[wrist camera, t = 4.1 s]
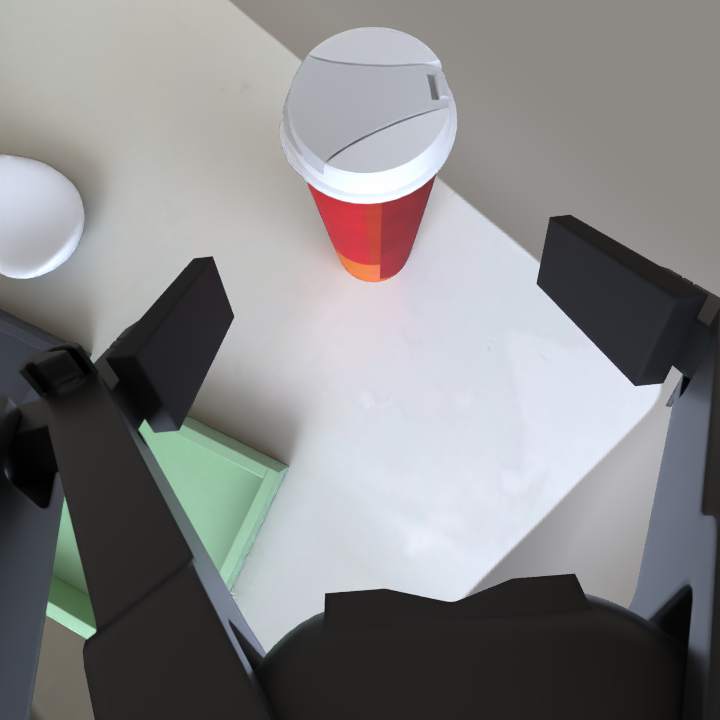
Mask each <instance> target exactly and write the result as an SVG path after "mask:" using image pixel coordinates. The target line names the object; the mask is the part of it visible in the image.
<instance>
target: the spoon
mask: <svg viewBox="0 0 720 720" xmlns="http://www.w3.org/2000/svg"><path fill="white" fill-rule="evenodd" d="M84 222H85V216H84V207H83V203H82V200H81V197H80V194H79V192H78V191H77V189H76V187H75V186H74V185H73V184H72V183H71V182H70V181H69V180H68V179H67V178H66V177H65V176H64V175H62V174H61V173H59V172H58V171H57V170H55V169H53V168H52V167H50V166H48V165H46V164H44V163H42V162H39V161H36V160H33V159H29V158H25V157H19V156H12V155H5V154H0V273H1V274H3V275H5V276H8V277H11V278H16V279H26V278H33V277H37V276H41V275H43V274H46V273H48V272H50V271H52V270H54V269H56V268H57V267H59V266H60V265H61V264H63V263H64V262H65V261H66V260H67V259H68V258H69V257H70V256H71V255H72V253H73V252H74V250H75V249H76V247H77V246H78V244H79V241H80V238H81V236H82V232H83V229H84Z"/></svg>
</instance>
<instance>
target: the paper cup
mask: <svg viewBox="0 0 720 720" xmlns="http://www.w3.org/2000/svg"><path fill="white" fill-rule="evenodd" d="M456 131H457V112H456V105H455V102H454V99H453V96H452V93H451V91H450V89H449V87H448V84H447V82H446V80H445V75H444V73H442V72H441V62H440V61H439V59H438V58H437V56H436V55H435V54H434V52H433V51H432V50H430V49H429V48H428V47H427V46H426V45H425V44H424V43H422V42H421V41H419V40H418V39H416V38H415V37H413V36H410V35H408V34H406V33H404V32H401V31H397V30H394V29H389V28H382V27H364V28H356V29H352V30H348V31H344V32H341V33H339V34H337V35H334V36H332V37H330V38H328V39H327V40H325V41H323V42H322V43H320V44H319V45H318V46H316V47H315V48H314V49H313V50H312V51H310V53H309V54H308V55H307V57H306V58H305V59H304V61H303V63H302V64H301V66H300V67H299V69H298V71H297V73H296V75H295V76H294V78H293V81H292V84H291V87H290V90H289V93H288V96H287V98H286V100H285V103H284V107H283V118H282V121H281V124H280V139H281V144H282V148H283V151H284V154H285V156H286V159H287V161H288V163H289V164H290V165H291V166H292V167H293V168H294V169H295V170H296V171H297V172H298V173H299V174H300V175H301V176H302V177H303V178H304V179H305V180H306V182H307V183H308V186H309V188H310V191H311V193H312V195H313V198H314V200H315V203H316V205H317V207H318V210H319V212H320V215H321V217H322V219H323V222H324V224H325V227H326V229H327V231H328V234H329V236H330V238H331V241H332V243H333V245H334V248H335V250H336V252H337V254H338V257H339V259H340V261H341V262H342V264H343V266H344V267H345V269H346V270H347V271H348V272H349V273H350V274H351V275H353V276H354V277H356V278H358V279H360V280H363V281H367V282H380V281H384V280H387V279H389V278H391V277H393V276H394V275H396V274H397V273H398V272H399V271H400V270H401V269H402V268H403V266H404V265H405V263H406V261H407V259H408V257H409V254H410V252H411V249H412V246H413V243H414V240H415V237H416V234H417V231H418V228H419V225H420V222H421V219H422V216H423V213H424V210H425V208H426V205H427V201H428V198H429V195H430V192H431V189H432V186H433V183H434V179H435V176H436V173H437V172H438V171H439V170H440V168H441V167H442V166H443V164H444V163H445V161H446V159H447V158H448V156H449V153H450V151H451V149H452V147H453V144H454V139H455V135H456Z"/></svg>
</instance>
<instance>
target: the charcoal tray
mask: <svg viewBox="0 0 720 720" xmlns="http://www.w3.org/2000/svg"><path fill="white" fill-rule="evenodd" d="M65 343H67V342H65V341H63V340H61V339H59V338H57V337H55V336H53V335H51V334H49V333H47V332H45V331H43V330H41V329H39V328H37V327H35V326H33V325H31V324H29V323H27V322H24V321H22V320H20V319H18V318H16V317H14V316H12V315H10V314H8V313H6V312H4V311H2V310H0V394H2V393H3V394H5V395H7V396H8V397H9V398H10V399H11V400H12V401H13V402H14V403H15V405H16V406H19V405H22V404H26V403H29V402H33V401H36V400H39V399H41V397H40V396H39V395H38V393H37V392H36V391H35V390H34V389H33V388H32V386H31V385H30V384H29V383H28V382H27V381H26V379H25V378H24V377H23V376H22V375H21V374H20V372H19V369H20V366H21V365H22V364H23V363H24V362H25V361H26V360H27V359H28V358H30V357H32V356H33V355H35V354H36V353H38V352H40V351H43V350H45V349H47V348H50V347H53V346H56V345H59V344H65ZM85 353H86V354H87V355H88V357H89V358H90V356H91V354H90V353H88V352H86V351H85Z"/></svg>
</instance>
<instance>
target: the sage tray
mask: <svg viewBox="0 0 720 720" xmlns="http://www.w3.org/2000/svg"><path fill="white" fill-rule="evenodd" d="M139 431H140V432H141V434H142V435H143V437H144V438H145V440H146V442H147V444H148V445H149V447H150V449H151V451H152V453H153V455H154V456H155V458H156V460H157V462H158V464H159V465H160V467H161V469H162V471H163V473H164V474H165V476H166V478H167V480H168V482H169V483H170V485H171V487H172V489H173V491H174V492H175V494H176V496H177V498H178V500H179V501H180V503H181V505H182V507H183V509H184V511H185V512H186V514H187V516H188V518H189V520H190V521H191V523H192V525H193V527H194V529H195V530H196V532H197V534H198V536H199V538H200V539H201V541H202V543H203V545H204V547H205V548H206V550H207V552H208V554H209V556H210V558H211V559H212V561H213V563H214V565H215V567H216V568H217V570H218V572H219V574H220V576H221V577H222V579H223V581H224V583H225V585H226V586H227V588H228V590H229V592H230V591H231V589H232V587H233V585H234V583H235V580H236V578H237V576H238V574H239V572H240V570H241V568H242V565H243V563H244V561H245V559H246V557H247V555H248V553H249V551H250V548H251V546H252V544H253V542H254V540H255V538H256V536H257V533H258V531H259V529H260V527H261V525H262V523H263V521H264V519H265V516H266V514H267V512H268V510H269V508H270V506H271V504H272V501H273V499H274V497H275V495H276V493H277V491H278V489H279V487H280V484H281V482H282V480H283V478H284V476H285V474H286V472H287V470H288V466H287V465H285V464H283V463H281V462H279V461H277V460H275V459H272V458H270V457H268V456H266V455H264V454H262V453H260V452H258V451H256V450H254V449H252V448H250V447H248V446H246V445H244V444H242V443H240V442H238V441H236V440H234V439H232V438H230V437H228V436H226V435H224V434H222V433H220V432H218V431H216V430H214V429H212V428H210V427H208V426H206V425H204V424H202V423H200V422H198V421H196V420H194V419H192V418H190V417H188V416H186V418H185V420H184V422H183V424H182V426H181V428H180V430H179V431H170V432H160V433H154V432H153V431H152V429H151V427H150V426H149V424H148V423H147V421H146V420H144V421H143V423H142V425H141V426H140V428H139ZM46 615H47V616H49V617H51V618H52V619H54V620H56V621H58V622H59V623H61V624H63V625H64V626H66V627H68V628H69V629H71V630H73V631H74V632H76V633H78V634H80V635H81V636H83V637H85V638H86V639H88V638H89V637H91V636H92V635H93V634H95V633H96V621H95V617H94V613H93V609H92V605H91V601H90V597H89V592H88V588H87V584H86V580H85V576H84V572H83V568H82V564H81V560H80V556H79V552H78V548H77V543H76V539H75V535H74V531H73V527H72V523H71V519H70V515H69V511H68V507H67V503H66V498H65V496H64V502H63V509H62V515H61V521H60V528H59V534H58V540H57V547H56V553H55V559H54V566H53V572H52V578H51V585H50V591H49V597H48V604H47V610H46Z"/></svg>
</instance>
